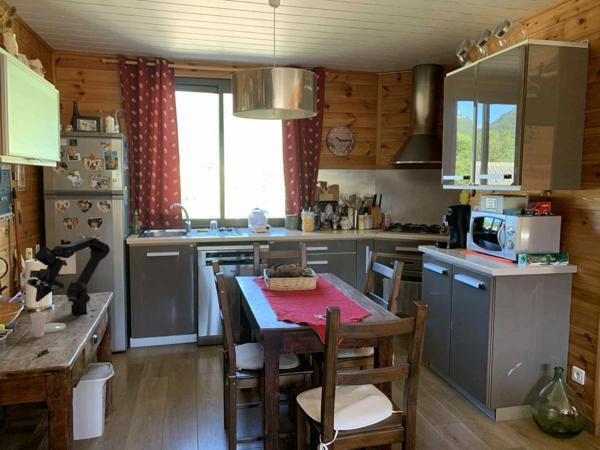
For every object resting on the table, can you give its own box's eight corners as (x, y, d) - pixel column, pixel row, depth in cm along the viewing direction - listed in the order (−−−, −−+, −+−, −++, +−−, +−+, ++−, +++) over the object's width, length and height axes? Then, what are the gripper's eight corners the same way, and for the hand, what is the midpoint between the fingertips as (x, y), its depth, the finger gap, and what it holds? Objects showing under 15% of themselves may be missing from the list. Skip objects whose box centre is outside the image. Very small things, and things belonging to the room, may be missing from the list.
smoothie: (40, 339, 197) (39, 306, 195) (26, 337, 198) (26, 305, 196) (51, 334, 203) (50, 302, 201) (38, 332, 204) (37, 301, 203)
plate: (63, 323, 217) (63, 321, 217) (67, 330, 208) (67, 328, 208) (36, 327, 211) (36, 325, 211) (39, 334, 202) (39, 332, 202)
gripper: (25, 262, 215) (8, 293, 207) (52, 261, 206) (34, 294, 199) (45, 272, 223) (29, 303, 216) (71, 273, 215) (55, 305, 207)
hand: (36, 301), depth 209 cm, fingers closed
